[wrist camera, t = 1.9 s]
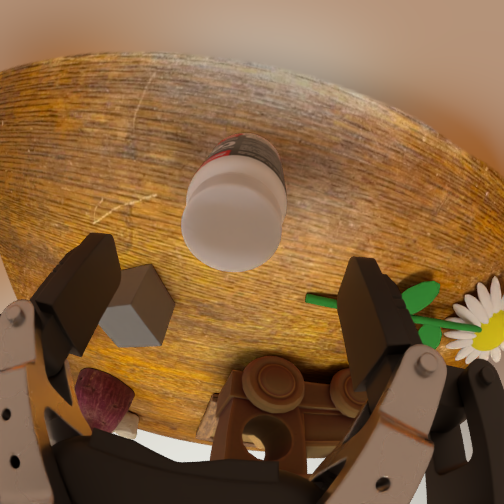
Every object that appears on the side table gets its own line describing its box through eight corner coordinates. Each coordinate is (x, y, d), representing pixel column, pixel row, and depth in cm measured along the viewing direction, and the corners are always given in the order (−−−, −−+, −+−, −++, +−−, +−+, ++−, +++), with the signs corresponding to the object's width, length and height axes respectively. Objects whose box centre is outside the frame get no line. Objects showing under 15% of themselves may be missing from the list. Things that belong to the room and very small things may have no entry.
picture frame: (278, 443, 51) (329, 406, 38) (278, 450, 49) (330, 416, 36) (196, 432, 49) (213, 392, 36) (195, 439, 47) (211, 402, 34)
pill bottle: (231, 118, 16) (201, 149, 9) (295, 155, 17) (316, 214, 10) (197, 179, 18) (155, 247, 11) (257, 210, 19) (251, 293, 12)
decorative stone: (99, 416, 48) (82, 437, 38) (103, 387, 49) (84, 406, 39) (141, 435, 49) (129, 459, 39) (147, 407, 50) (134, 430, 40)
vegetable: (94, 347, 38) (53, 411, 23) (145, 383, 40) (119, 453, 26) (78, 375, 40) (45, 431, 26) (123, 406, 42) (99, 466, 28)
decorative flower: (290, 324, 29) (481, 351, 27) (287, 358, 25) (491, 376, 23) (325, 217, 22) (529, 281, 20) (329, 245, 18) (547, 304, 16)
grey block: (109, 272, 24) (86, 310, 19) (151, 263, 23) (130, 304, 18) (135, 309, 26) (118, 347, 22) (175, 304, 25) (161, 346, 21)
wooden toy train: (210, 384, 34) (194, 498, 21) (231, 340, 28) (212, 497, 14) (337, 403, 37) (346, 499, 23) (382, 366, 31) (405, 483, 17)
